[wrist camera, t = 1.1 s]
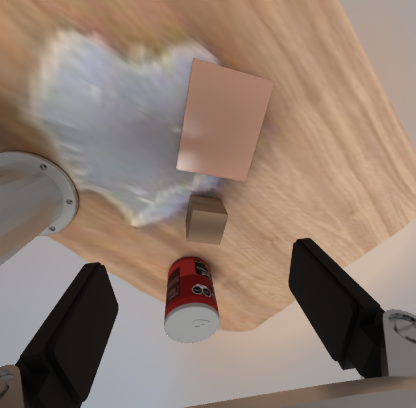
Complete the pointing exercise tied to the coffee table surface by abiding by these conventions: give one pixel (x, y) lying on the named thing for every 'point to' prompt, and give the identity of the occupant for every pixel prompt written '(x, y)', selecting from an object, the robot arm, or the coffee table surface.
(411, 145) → the coffee table surface
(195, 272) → the canned food
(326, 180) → the coffee table surface
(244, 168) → the terracotta tile
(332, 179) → the coffee table surface
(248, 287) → the coffee table surface
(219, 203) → the walnut block
